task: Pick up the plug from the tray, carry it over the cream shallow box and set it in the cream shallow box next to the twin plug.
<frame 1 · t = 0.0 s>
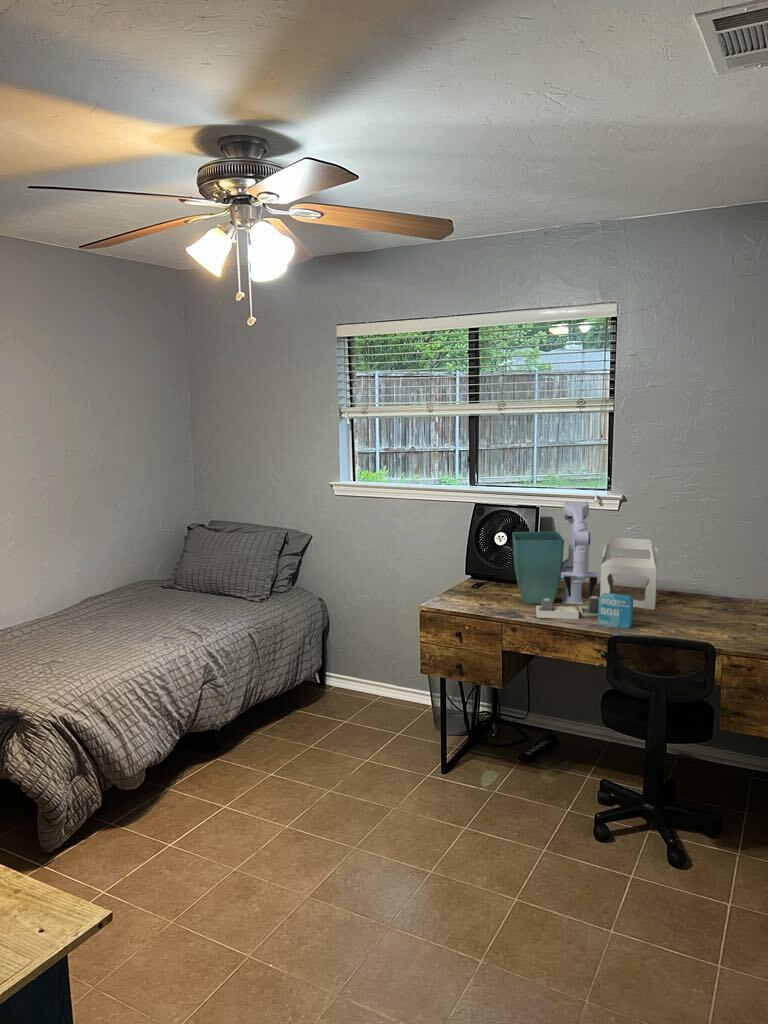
hand: (579, 596, 292), 10 cm above the table, fingers open, 7 cm apart
tray: (593, 613, 304), on the table
gable box: (627, 603, 318), on the table
flower pot: (536, 600, 324), on the table, touching arm
cream shallow box: (556, 616, 300), on the table
twin plug: (546, 614, 301), resting on cream shallow box
data package: (615, 626, 287), on the table
plug: (593, 612, 304), resting on tray
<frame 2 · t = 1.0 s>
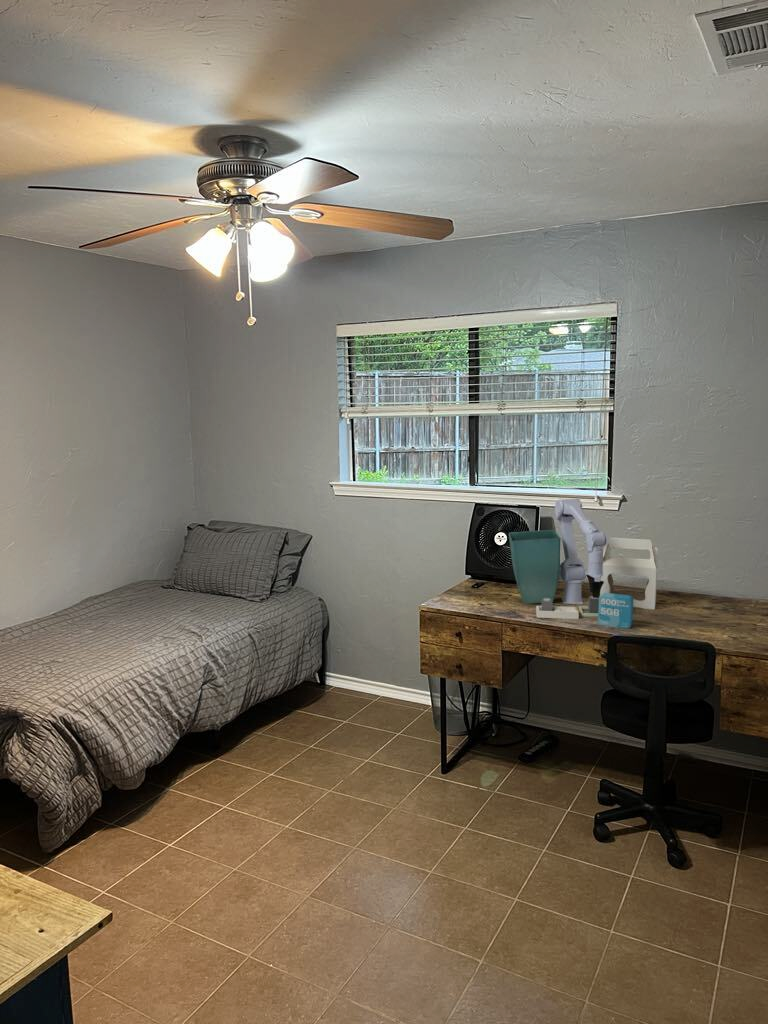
hand: (594, 595, 303), 8 cm above the table, fingers open, 7 cm apart
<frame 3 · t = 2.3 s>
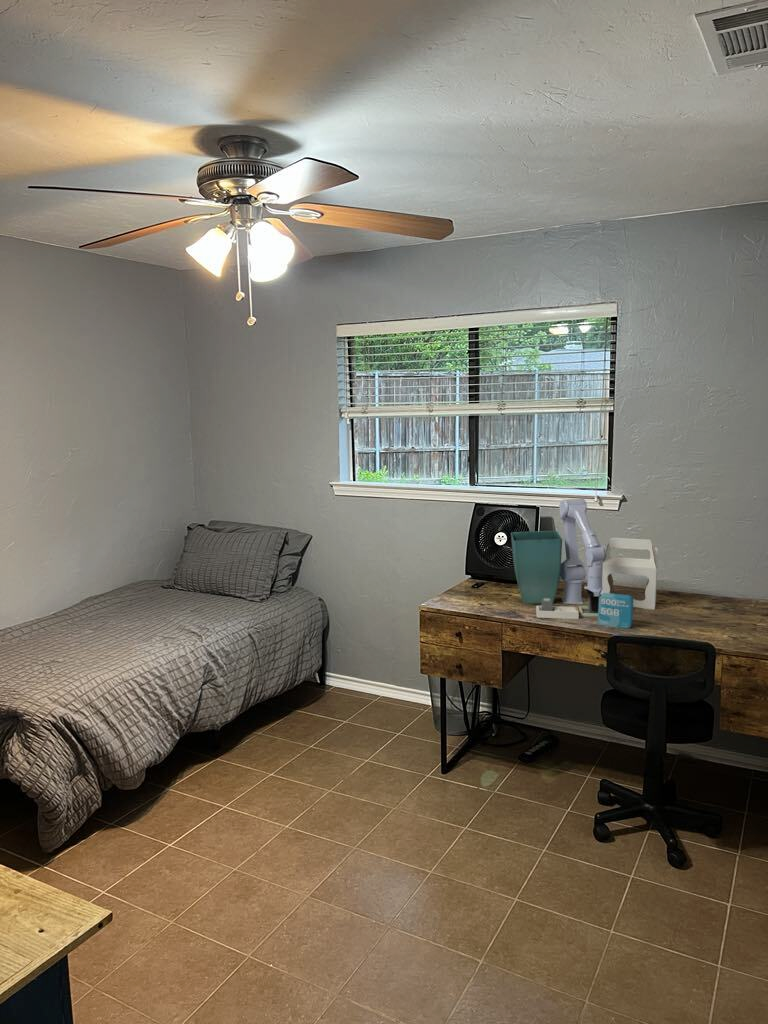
hand: (593, 609, 304), 2 cm above the table, fingers closed on plug, 4 cm apart
plug: (593, 612, 304), resting on tray, touching gripper
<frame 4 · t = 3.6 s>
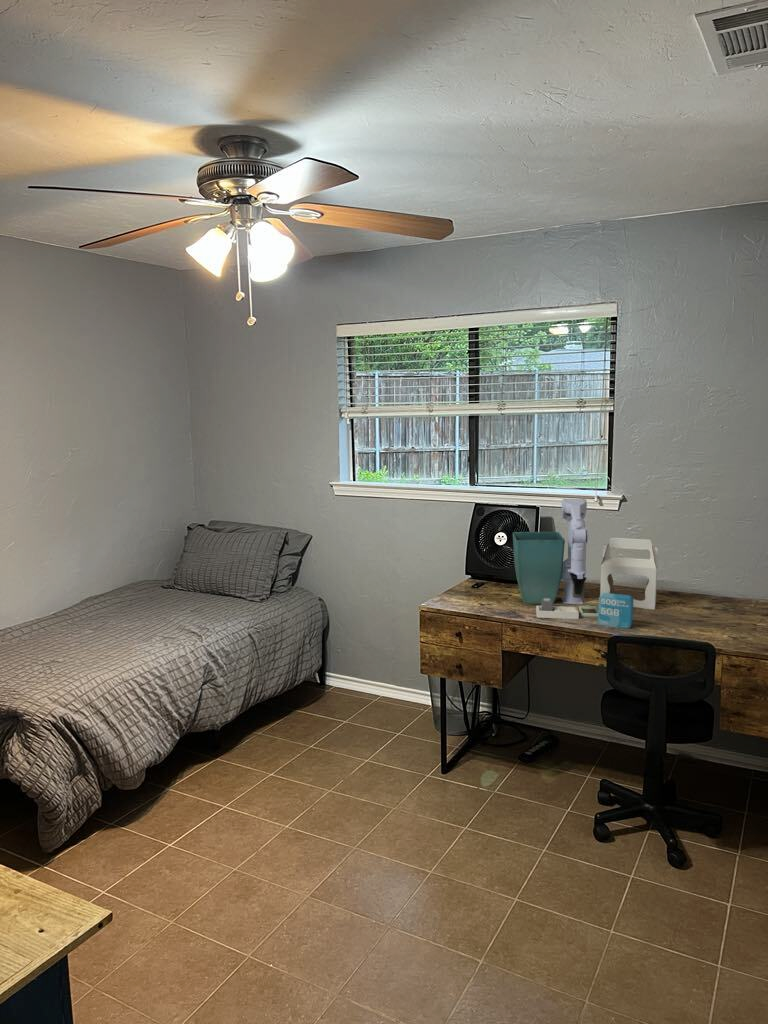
hand: (577, 592, 300), 9 cm above the table, fingers closed on plug, 4 cm apart
plug: (578, 596, 300), point 8 cm above the table, touching gripper
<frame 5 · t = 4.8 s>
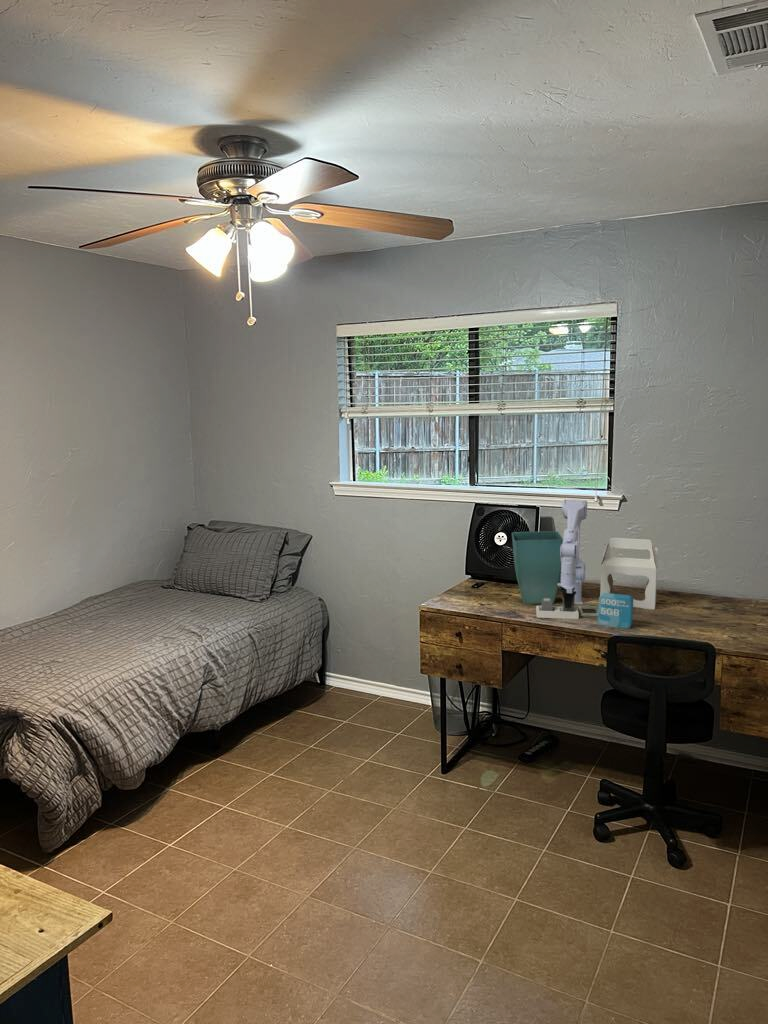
hand: (567, 606, 299), 4 cm above the table, fingers closed on plug, 4 cm apart
plug: (568, 610, 299), point 3 cm above the table, touching gripper
everything else where it was.
when the fingers open (3 cm above the table, at t = 5.8 s): plug drops 1 cm, resting on cream shallow box.
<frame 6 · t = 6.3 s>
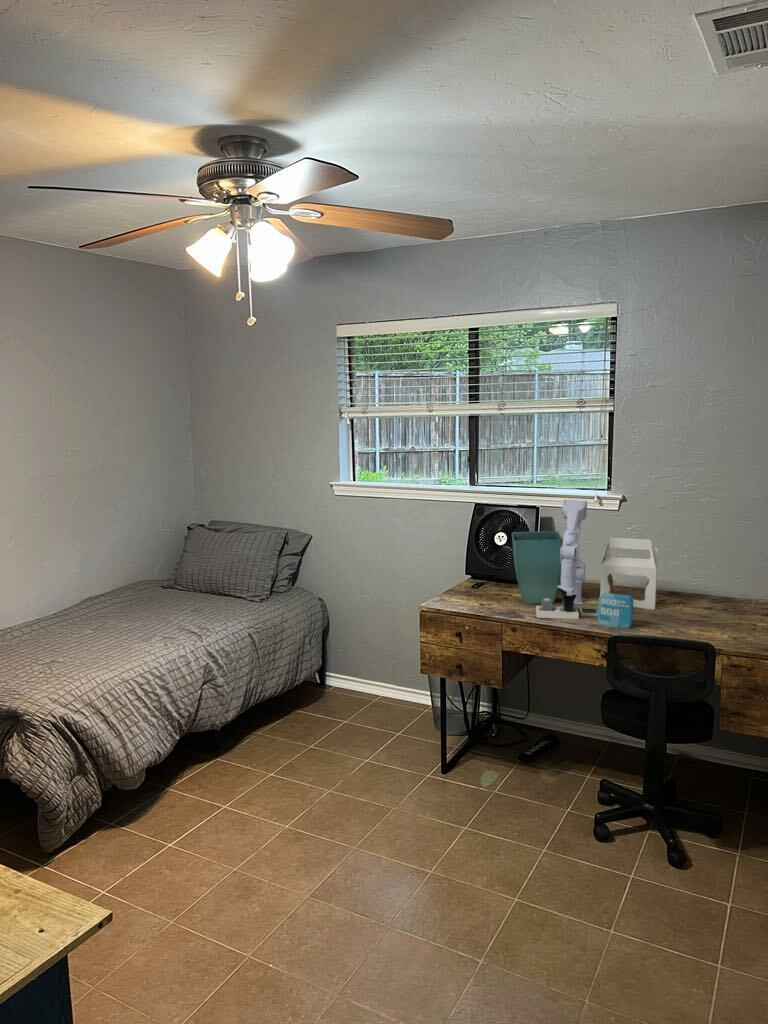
hand: (567, 608, 299), 3 cm above the table, fingers open, 7 cm apart
plug: (568, 615, 300), resting on cream shallow box
everything else where it was.
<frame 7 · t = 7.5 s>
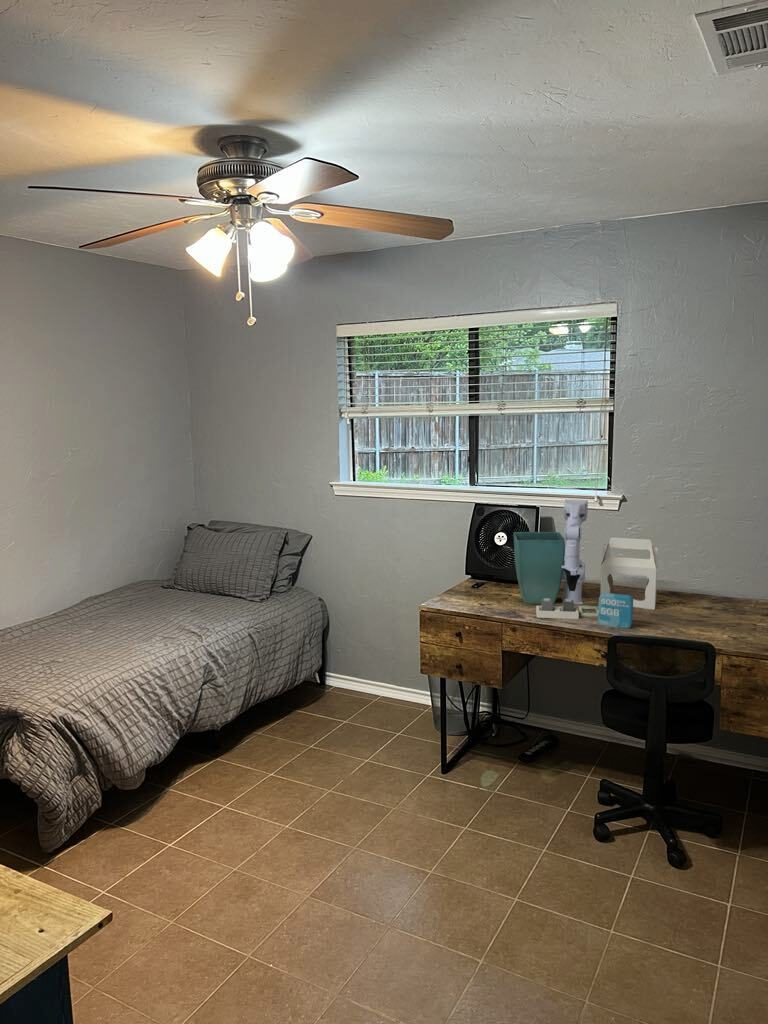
hand: (571, 588, 305), 10 cm above the table, fingers open, 7 cm apart
flower pot: (537, 600, 324), on the table
everything else where it was.
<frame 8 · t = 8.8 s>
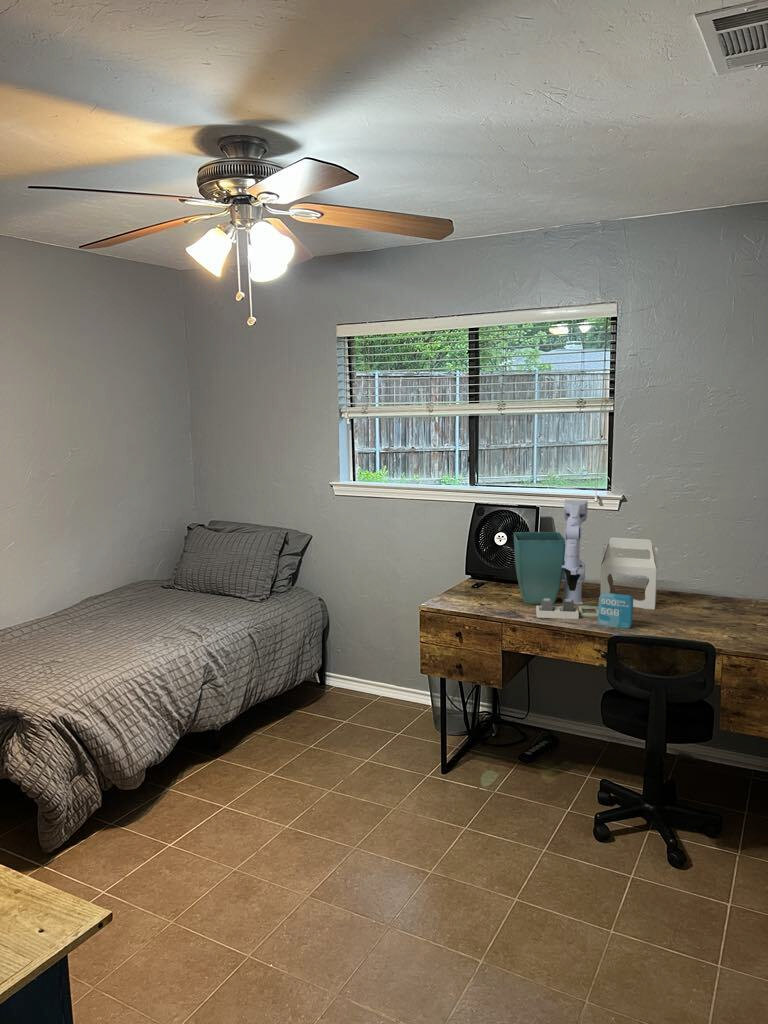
hand: (571, 588, 305), 10 cm above the table, fingers open, 7 cm apart
nothing on the table moved.
at the end: plug 0.3 cm from the target spot on the cream shallow box, point 0.5 cm above the cream shallow box's base; plug tilted 0°; the gripper is holding nothing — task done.
